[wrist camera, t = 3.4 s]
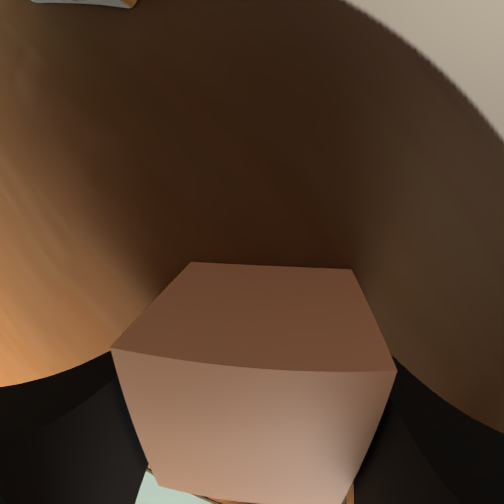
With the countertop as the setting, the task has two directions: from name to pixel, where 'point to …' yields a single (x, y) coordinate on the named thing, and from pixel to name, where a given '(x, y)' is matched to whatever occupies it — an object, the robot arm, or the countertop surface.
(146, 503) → the pad
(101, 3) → the small box
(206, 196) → the countertop surface
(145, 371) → the cube
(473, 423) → the robot arm
